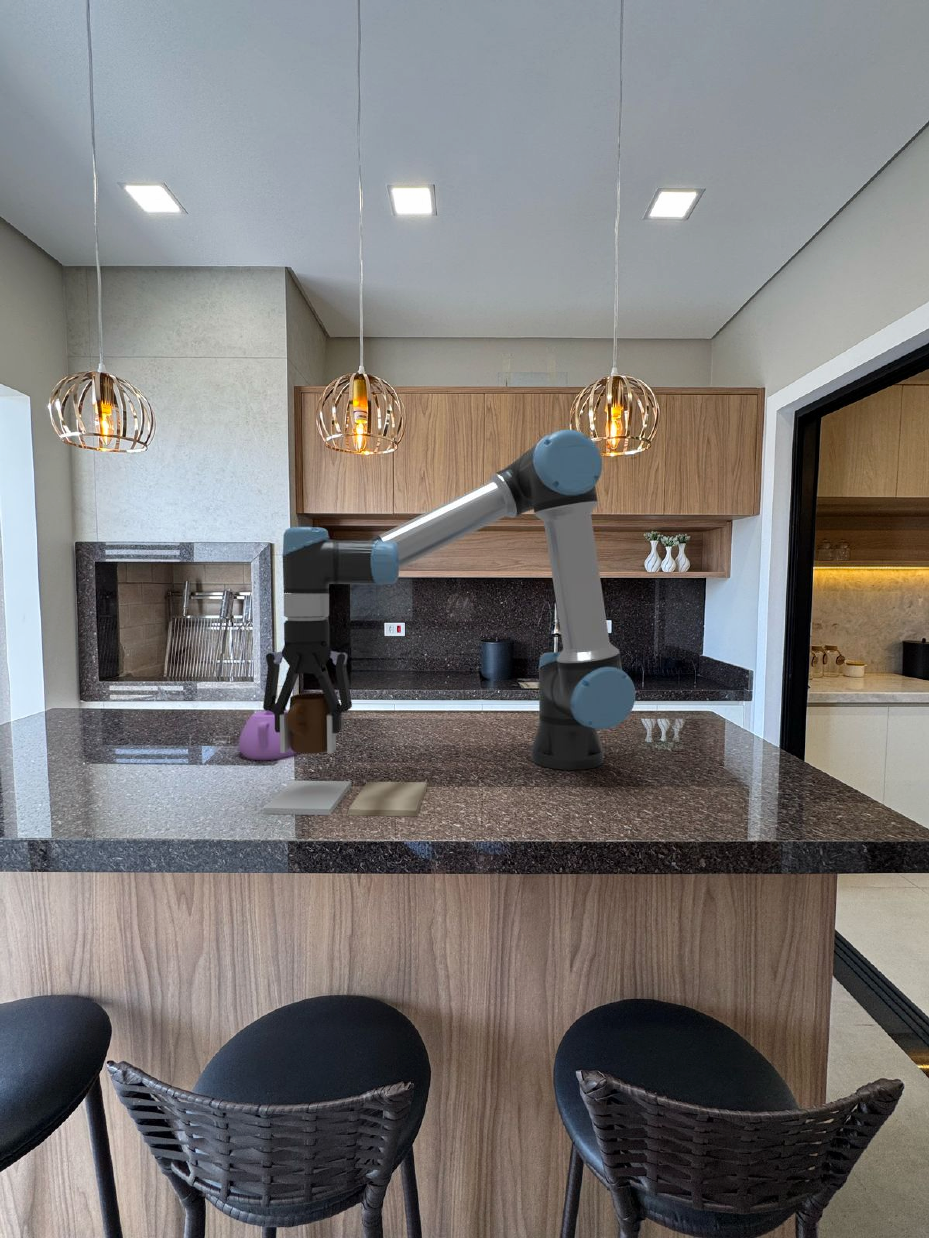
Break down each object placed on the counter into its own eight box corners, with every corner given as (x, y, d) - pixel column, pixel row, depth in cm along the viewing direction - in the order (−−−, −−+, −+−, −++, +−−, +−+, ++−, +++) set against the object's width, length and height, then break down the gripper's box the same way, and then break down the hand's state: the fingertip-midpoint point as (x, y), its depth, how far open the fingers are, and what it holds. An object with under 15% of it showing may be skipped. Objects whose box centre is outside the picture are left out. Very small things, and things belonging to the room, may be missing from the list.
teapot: (312, 740, 147) (311, 696, 146) (294, 764, 127) (293, 713, 126) (253, 741, 146) (252, 697, 145) (227, 766, 126) (225, 715, 126)
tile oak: (426, 787, 111) (426, 782, 111) (416, 816, 97) (416, 810, 97) (367, 786, 112) (367, 781, 112) (348, 815, 98) (348, 809, 98)
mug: (312, 763, 99) (311, 705, 98) (269, 760, 100) (268, 704, 100) (341, 744, 110) (340, 693, 110) (302, 742, 112) (301, 691, 111)
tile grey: (351, 786, 112) (351, 781, 112) (330, 815, 98) (329, 808, 98) (292, 785, 113) (292, 780, 113) (263, 813, 99) (263, 807, 99)
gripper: (370, 617, 107) (371, 746, 108) (257, 617, 108) (259, 744, 109) (360, 620, 100) (361, 758, 101) (239, 619, 101) (241, 756, 102)
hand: (308, 750), depth 105 cm, fingers closed on mug, 7 cm apart
